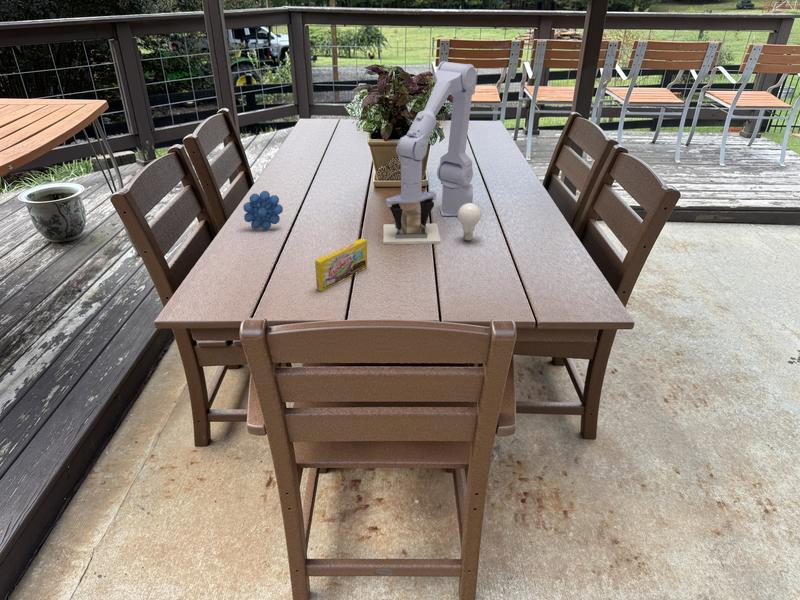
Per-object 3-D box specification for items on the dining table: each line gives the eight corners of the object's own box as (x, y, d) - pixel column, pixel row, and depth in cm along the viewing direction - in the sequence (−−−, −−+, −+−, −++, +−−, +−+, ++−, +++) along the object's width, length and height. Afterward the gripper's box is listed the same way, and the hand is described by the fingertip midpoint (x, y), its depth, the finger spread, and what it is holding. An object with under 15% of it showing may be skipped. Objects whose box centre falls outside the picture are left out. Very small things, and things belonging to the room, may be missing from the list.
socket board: (436, 226, 164) (437, 219, 163) (440, 243, 153) (440, 237, 152) (383, 226, 163) (383, 220, 162) (383, 244, 153) (383, 237, 152)
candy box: (322, 292, 131) (319, 262, 127) (316, 290, 132) (313, 259, 128) (368, 268, 142) (367, 239, 137) (362, 265, 143) (361, 236, 138)
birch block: (414, 228, 160) (414, 209, 157) (419, 233, 157) (420, 214, 154) (401, 230, 159) (401, 211, 156) (407, 236, 156) (407, 216, 153)
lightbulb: (481, 237, 157) (483, 201, 151) (476, 246, 152) (479, 209, 146) (459, 234, 159) (461, 198, 153) (454, 243, 154) (456, 206, 148)
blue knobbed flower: (287, 223, 166) (283, 185, 159) (284, 232, 160) (279, 193, 154) (249, 223, 166) (243, 185, 159) (244, 233, 160) (237, 194, 153)
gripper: (429, 173, 155) (428, 217, 162) (381, 179, 151) (382, 224, 158) (440, 180, 150) (438, 226, 157) (390, 187, 145) (391, 234, 152)
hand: (411, 226), depth 157 cm, fingers open, 7 cm apart
